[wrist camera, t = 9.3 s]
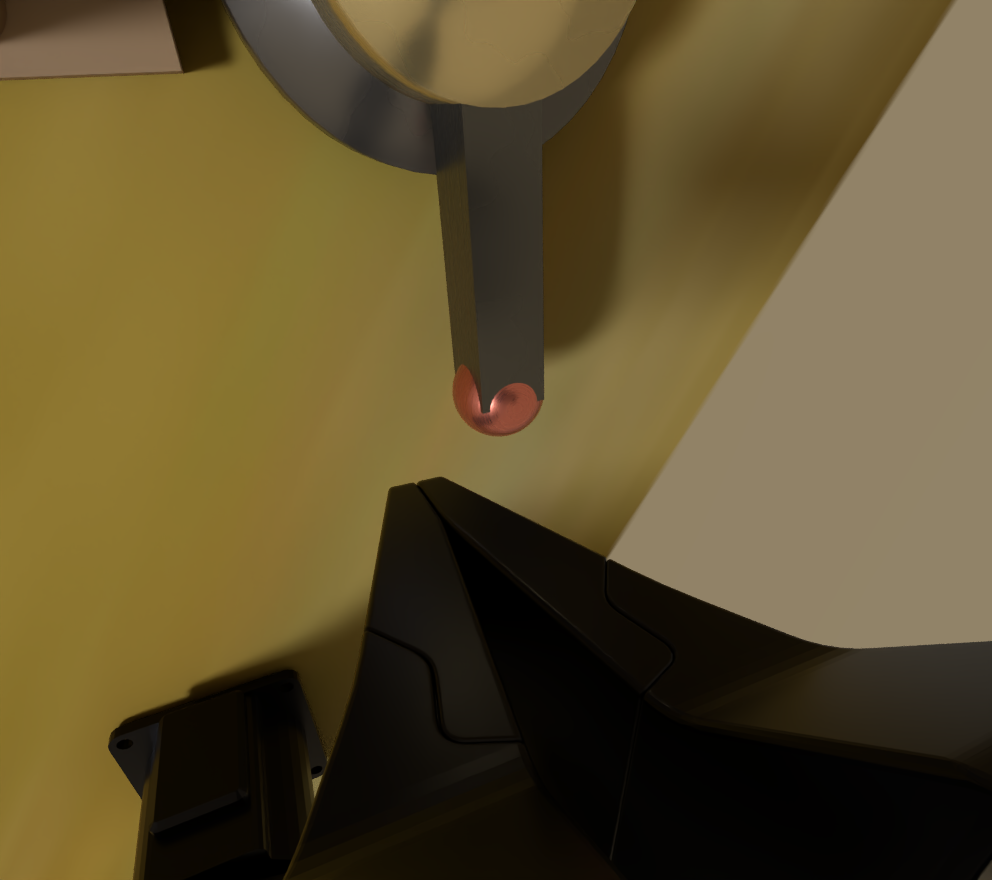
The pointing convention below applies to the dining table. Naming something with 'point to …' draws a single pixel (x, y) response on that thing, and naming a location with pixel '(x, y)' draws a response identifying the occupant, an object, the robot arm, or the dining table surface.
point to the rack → (85, 39)
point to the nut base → (363, 85)
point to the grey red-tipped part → (485, 163)
